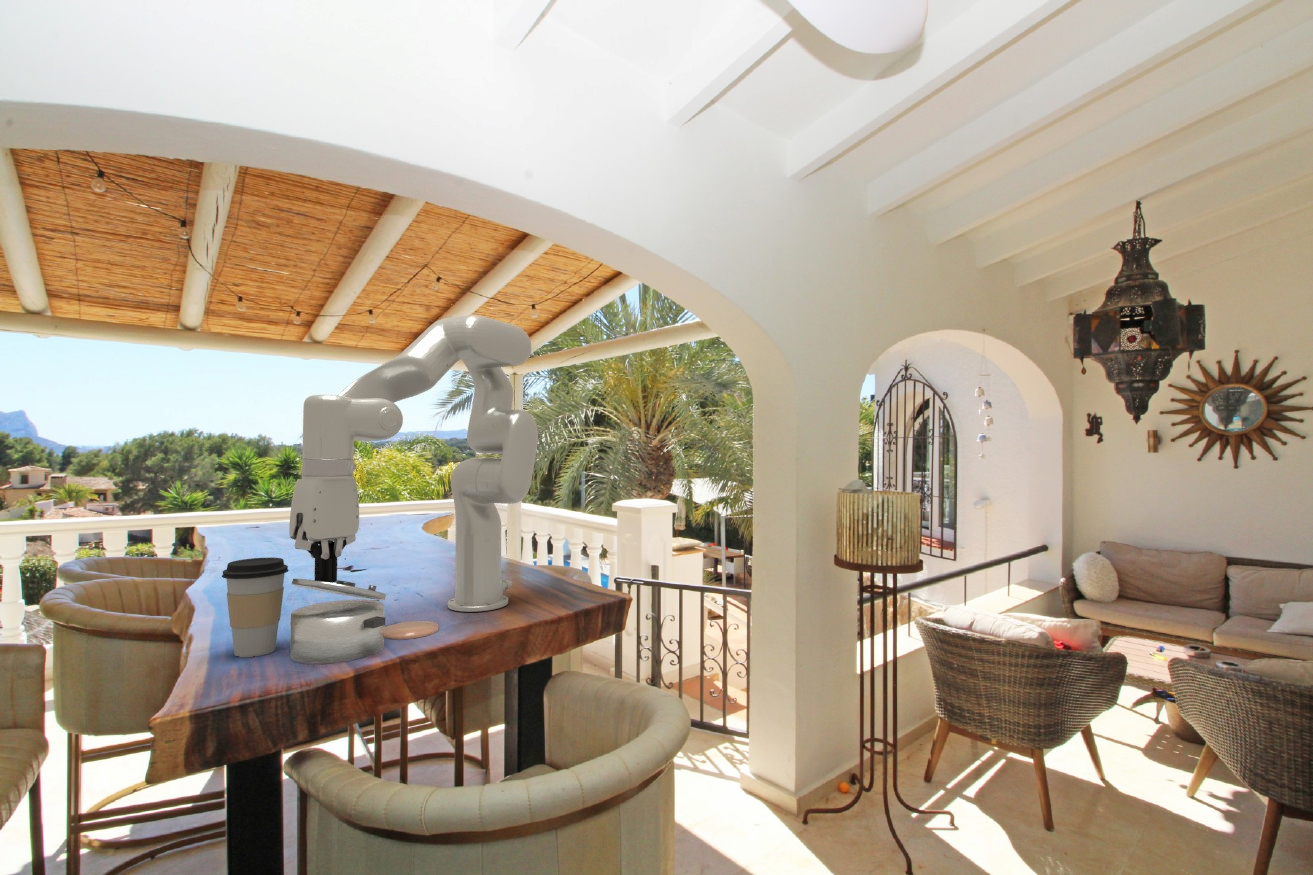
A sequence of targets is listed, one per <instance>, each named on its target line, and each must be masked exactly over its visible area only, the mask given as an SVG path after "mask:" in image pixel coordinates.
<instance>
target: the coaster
mask: <svg viewBox="0 0 1313 875" xmlns="http://www.w3.org/2000/svg"><path fill="white" fill-rule="evenodd" d="M439 626H440V625H439V624H438V623H437V622H434V621H429V620H415V621H414V620H412V621H402V622H398V623H397V622H396V623H393V624H389V625H387V626H386V625H385V626H384V639H388V640H411V639H419V638H425V637H428V636H431V635H433V634H435V633H437V632H438V631H439Z"/></svg>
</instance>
